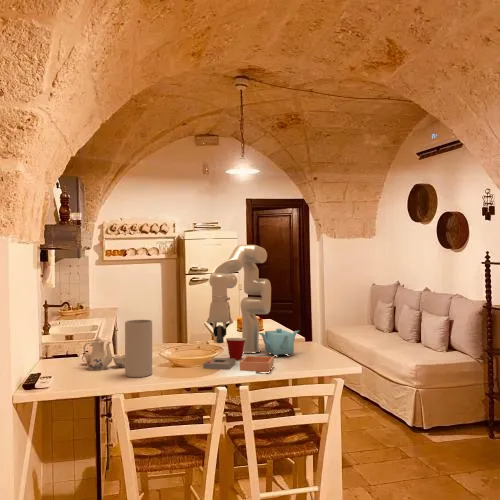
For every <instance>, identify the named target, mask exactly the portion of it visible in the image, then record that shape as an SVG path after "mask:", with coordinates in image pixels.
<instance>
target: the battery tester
mask: <svg viewBox="0 0 500 500" xmlns="http://www.w3.org/2000/svg"><path fill="white" fill-rule="evenodd" d="M212 358H213V359H211V360H208V359H207V360H206V361H204V362H203V363H202V365H203V367H202V369H203V370H205V369H207V370H208V369H209V370H228V371H229V370H231V369H232V368H233V367H234V366H235V365H236V360H235V359H230V357H228V358H226V357H225V358H223V357H212Z"/></svg>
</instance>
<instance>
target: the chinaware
mask: <svg viewBox="0 0 500 500" xmlns="http://www.w3.org/2000/svg"><path fill="white" fill-rule="evenodd" d="M105 342H106V341H105V340H103V339H102V338H100V336H99V335H97V336H96V338H95V339H94V340H93V341H92V340H91V342H85V344H84V345H83V352H84V354H83V356H82V358H81V360H82V362H84V363H85V362H86V366H87V367H88V368H89V371H103V370H107V369H108V366H109V365H110V364H111V363H112V361H113V363H114V365H116V366H117V367H118V368H119V367H122V368H125V354H121V355H119V354H116V355H114V356H113V354H112V351H111V348H110V344H111V341H108V342H107V343H106V352H105ZM87 345H89V346H90V347H91V349H92V350H91V352H89V353H88V352H87V351H86V346H87Z"/></svg>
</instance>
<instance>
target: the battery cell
mask: <svg viewBox="0 0 500 500" xmlns="http://www.w3.org/2000/svg"><path fill="white" fill-rule="evenodd" d="M222 329H223V325H222V324H218V325H216V337H215V340H216V342H215V343H216V344H223V343H224V341H225V340H224V339H225V337H223V336H222Z"/></svg>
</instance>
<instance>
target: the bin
mask: <svg viewBox="0 0 500 500" xmlns="http://www.w3.org/2000/svg"><path fill="white" fill-rule="evenodd" d="M274 358H275V357H273V356H256V355H246V356H245V357H243V358H242V359H241V360H240V362H239V371H240V372H241V371H242V372H244V371H247V372H269V371H270V370H271V368H272V366H273V365H274V363H275V359H274ZM271 371H272V370H271Z"/></svg>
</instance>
